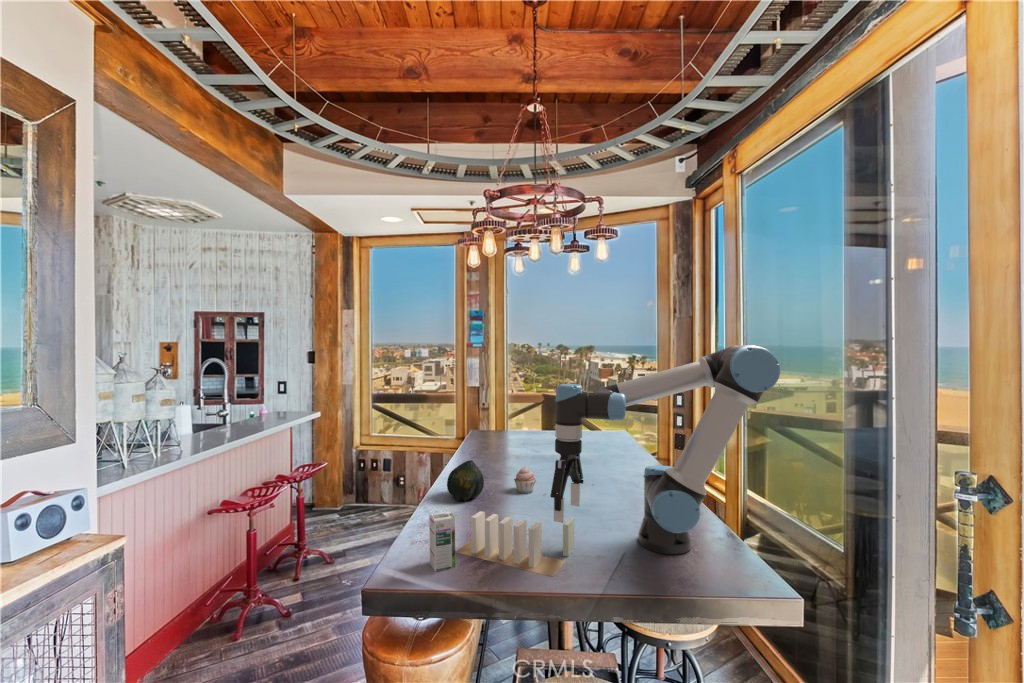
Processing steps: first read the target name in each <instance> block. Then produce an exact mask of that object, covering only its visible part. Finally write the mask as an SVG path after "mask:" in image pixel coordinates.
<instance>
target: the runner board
mask: <svg viewBox="0 0 1024 683" xmlns="http://www.w3.org/2000/svg"><path fill="white" fill-rule="evenodd" d="M456 553H457V554H460V555H461V554H462V555H465V556H469V557H472V558H477V559H481V560H484V561H485V560H486V561H488V562H493V563H497V564H501V565H503V566H508V567H512V568H517V569H521V570H525V571H528V572H532V573H536V574H541V575H543V576H548V577H552V578H553V577H554V576H556V574H557V573H558V572H559V570H560V569H561V568H562V566H563V565H564V564H565V563H566V561H565V560H562V559H561V560H560V559H557V558H553V557H548V556H544V555H542V560H541V561H540V562H539V563H538V564H537V565H536V566H535V567H534V568H533V567H529V552H527V556H526V557H525V558H524V559H523V560H522V561H521V562H520V563H519V564H517V563H514V548H512V553H511V554H510V555H509V556H508V557H507V558H506V559H505V560H501V559H499V545H498V550H497V551H496V552H495V553H494V554H493V555H491V556H490V557H489V556H485V547H483V548H482V549H481V550H480V551H478V552H477V553H473V552H471V540H469V541H468V542H466V543H465V544H463V545H462V547H460V548H458V549H457V550H455V554H456Z"/></svg>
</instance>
